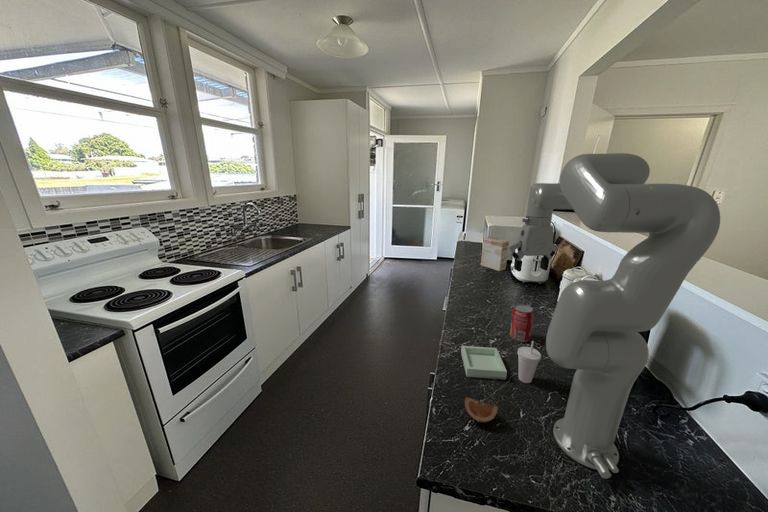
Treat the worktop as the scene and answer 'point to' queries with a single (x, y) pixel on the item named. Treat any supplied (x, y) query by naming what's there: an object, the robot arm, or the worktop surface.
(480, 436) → the worktop surface
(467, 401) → the fruit slice
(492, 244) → the coffeecake box
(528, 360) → the smoothie
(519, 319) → the soda can
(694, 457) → the worktop surface
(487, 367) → the tray
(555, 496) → the worktop surface
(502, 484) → the worktop surface
